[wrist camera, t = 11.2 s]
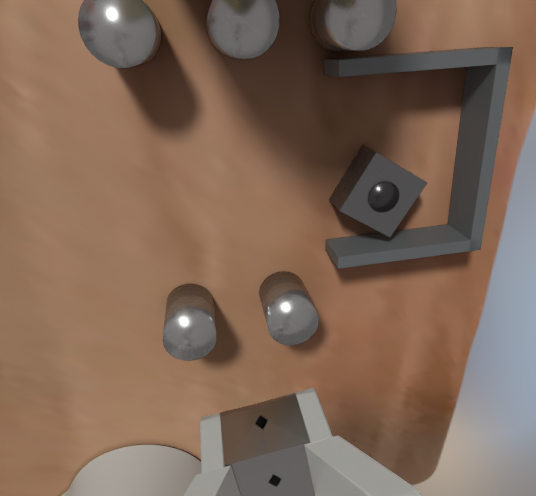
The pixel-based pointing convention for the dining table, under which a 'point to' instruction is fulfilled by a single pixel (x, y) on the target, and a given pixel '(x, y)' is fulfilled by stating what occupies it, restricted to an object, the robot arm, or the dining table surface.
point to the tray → (466, 163)
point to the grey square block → (376, 191)
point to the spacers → (241, 46)
